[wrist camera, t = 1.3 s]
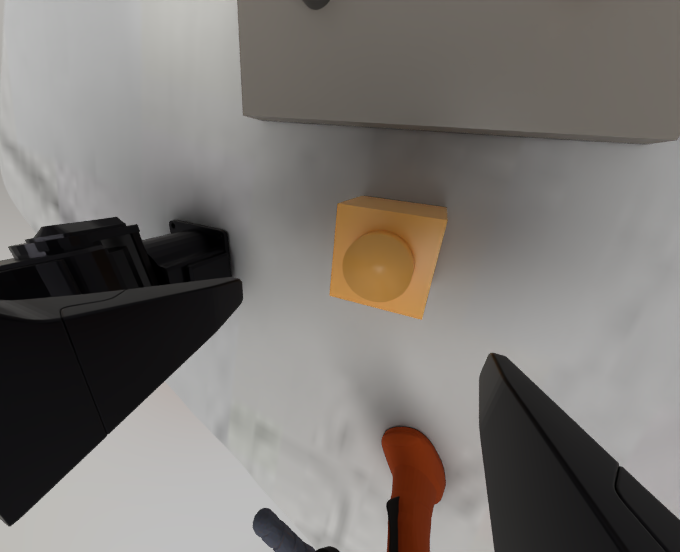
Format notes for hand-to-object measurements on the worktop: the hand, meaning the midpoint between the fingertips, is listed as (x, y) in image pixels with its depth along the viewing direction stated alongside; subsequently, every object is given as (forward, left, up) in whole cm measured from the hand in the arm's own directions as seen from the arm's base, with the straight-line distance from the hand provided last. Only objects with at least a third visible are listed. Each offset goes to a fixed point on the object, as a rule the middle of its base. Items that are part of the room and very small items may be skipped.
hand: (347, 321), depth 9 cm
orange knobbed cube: (0, 0, -11) cm, 11 cm away
